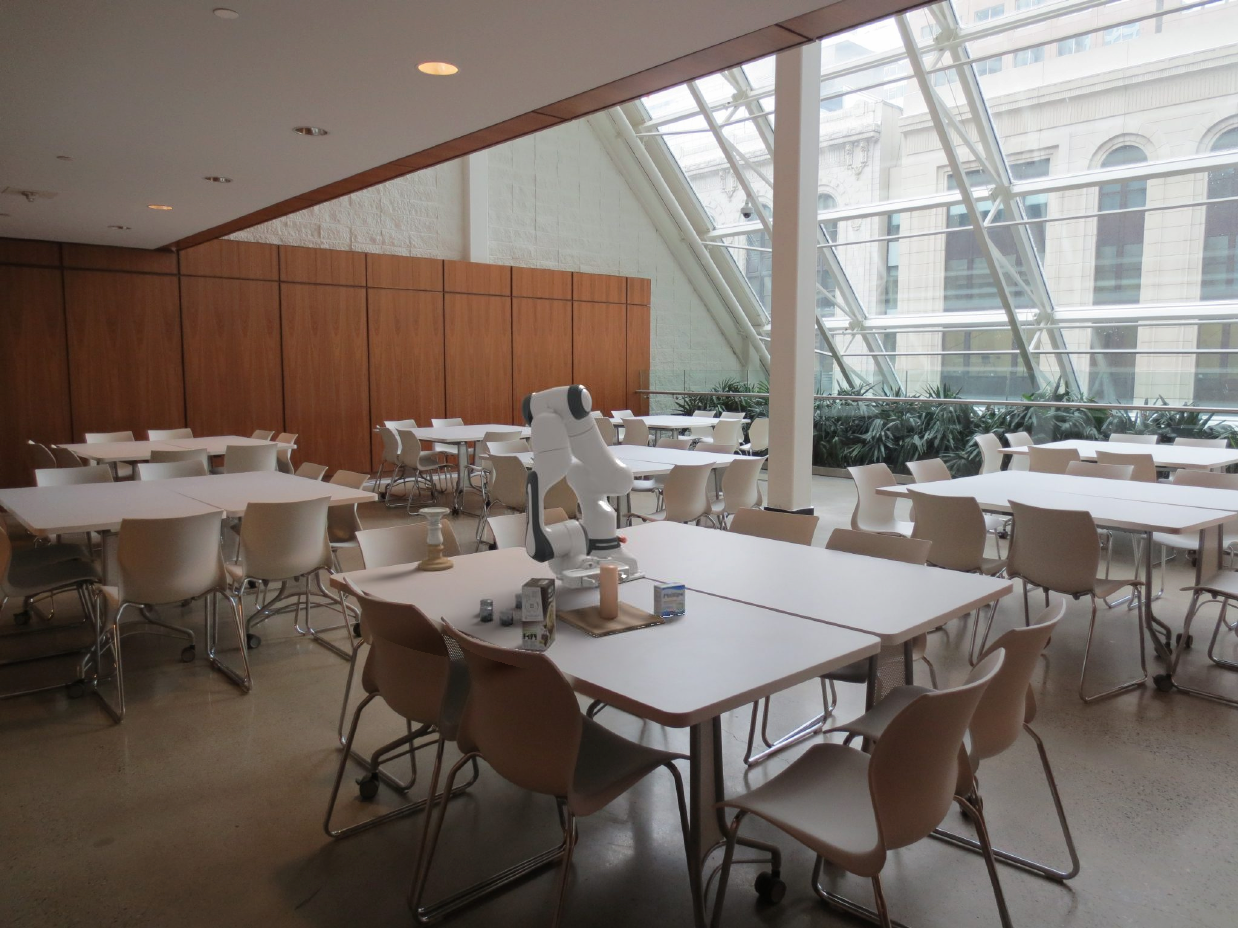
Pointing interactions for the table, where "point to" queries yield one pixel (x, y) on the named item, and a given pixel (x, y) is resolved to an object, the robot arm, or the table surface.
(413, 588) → the table surface
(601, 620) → the walnut board
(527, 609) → the coffee box
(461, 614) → the table surface
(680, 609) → the medicine box
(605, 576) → the peach rounded cylinder
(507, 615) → the posts
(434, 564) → the candle holder
